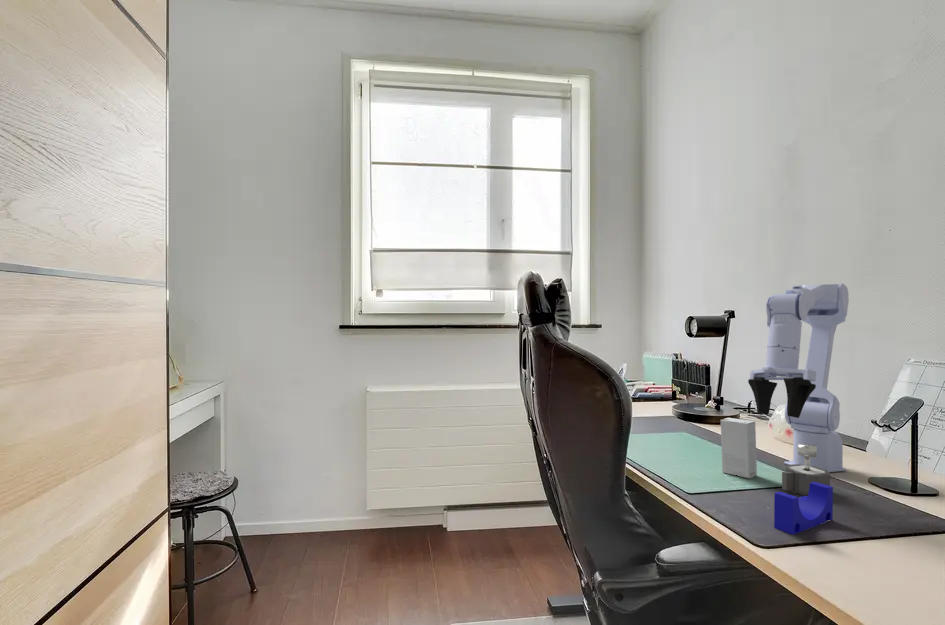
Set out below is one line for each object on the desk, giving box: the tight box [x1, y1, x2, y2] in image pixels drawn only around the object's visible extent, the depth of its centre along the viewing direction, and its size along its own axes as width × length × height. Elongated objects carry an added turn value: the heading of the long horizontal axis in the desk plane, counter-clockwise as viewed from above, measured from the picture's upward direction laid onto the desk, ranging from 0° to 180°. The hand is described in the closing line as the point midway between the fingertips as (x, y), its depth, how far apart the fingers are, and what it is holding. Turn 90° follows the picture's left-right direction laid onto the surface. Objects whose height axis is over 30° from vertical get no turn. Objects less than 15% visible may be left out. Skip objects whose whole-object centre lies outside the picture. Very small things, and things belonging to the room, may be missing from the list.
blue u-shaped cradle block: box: [773, 482, 834, 536], centre depth 86 cm, size 12×4×6 cm, turn 118°
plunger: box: [798, 443, 817, 471], centre depth 102 cm, size 3×3×6 cm
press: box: [781, 464, 831, 496], centre depth 102 cm, size 9×7×4 cm
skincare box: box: [720, 417, 758, 479], centre depth 112 cm, size 6×4×12 cm
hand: (777, 415), depth 102 cm, fingers open, 7 cm apart
